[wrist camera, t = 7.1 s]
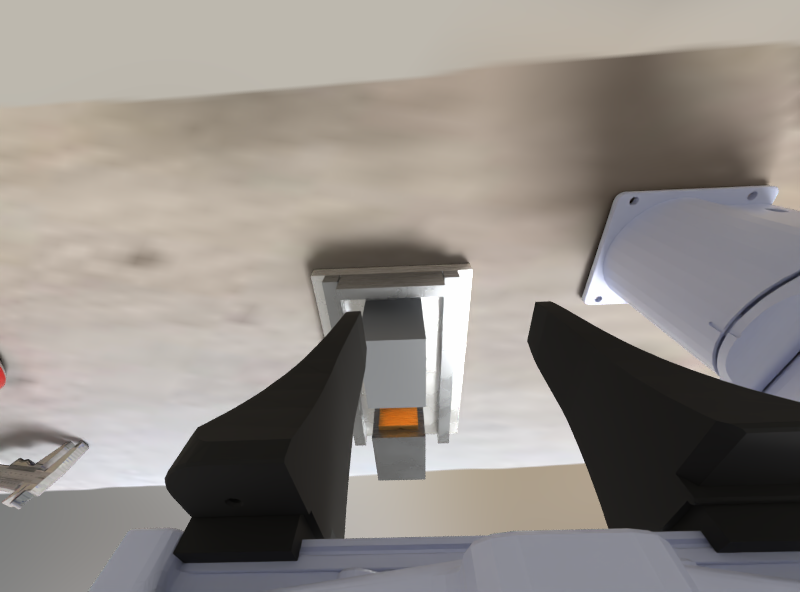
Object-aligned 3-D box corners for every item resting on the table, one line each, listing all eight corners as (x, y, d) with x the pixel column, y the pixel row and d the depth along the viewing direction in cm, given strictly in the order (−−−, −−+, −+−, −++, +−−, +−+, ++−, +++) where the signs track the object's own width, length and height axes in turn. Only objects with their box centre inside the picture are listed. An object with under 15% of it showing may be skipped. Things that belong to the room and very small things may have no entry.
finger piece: (421, 298, 21) (425, 339, 17) (421, 365, 24) (425, 411, 20) (365, 300, 21) (357, 341, 17) (373, 366, 24) (368, 413, 20)
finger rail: (469, 263, 20) (490, 306, 16) (455, 424, 30) (465, 481, 25) (314, 269, 21) (288, 313, 16) (348, 427, 30) (338, 484, 25)
